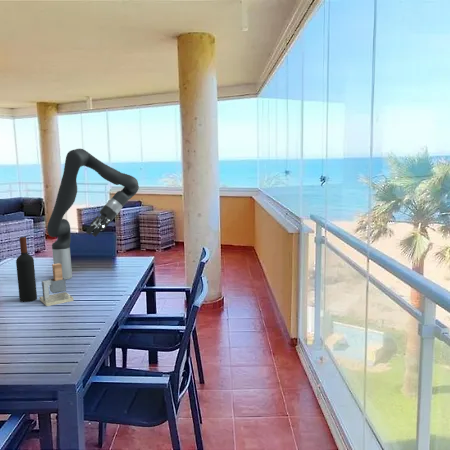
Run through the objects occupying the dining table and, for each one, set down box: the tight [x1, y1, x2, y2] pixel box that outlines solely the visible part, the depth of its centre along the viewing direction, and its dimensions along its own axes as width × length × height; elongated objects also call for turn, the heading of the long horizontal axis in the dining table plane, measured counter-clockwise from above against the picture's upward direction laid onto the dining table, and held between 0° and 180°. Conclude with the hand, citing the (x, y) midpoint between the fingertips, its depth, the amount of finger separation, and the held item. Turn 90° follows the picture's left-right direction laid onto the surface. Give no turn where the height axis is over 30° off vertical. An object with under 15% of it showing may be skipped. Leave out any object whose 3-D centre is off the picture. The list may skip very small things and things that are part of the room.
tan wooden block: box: [51, 263, 63, 281], centre depth 200 cm, size 3×3×12 cm
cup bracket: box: [39, 278, 74, 307], centre depth 200 cm, size 12×12×10 cm
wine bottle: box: [15, 236, 38, 303], centre depth 201 cm, size 8×8×30 cm
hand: (90, 234), depth 212 cm, fingers open, 8 cm apart
